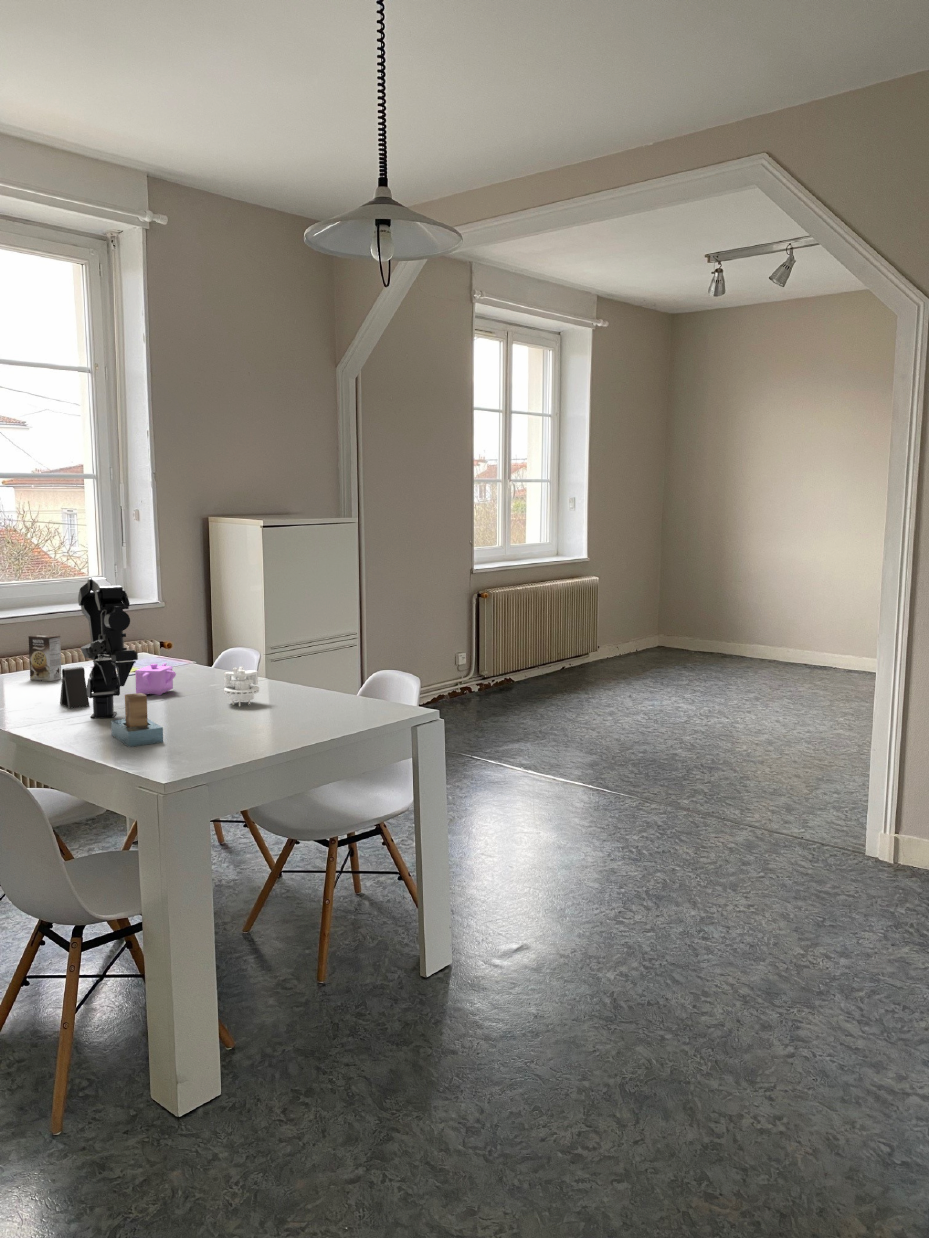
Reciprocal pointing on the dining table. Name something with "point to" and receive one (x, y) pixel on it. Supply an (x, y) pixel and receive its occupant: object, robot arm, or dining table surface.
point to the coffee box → (45, 657)
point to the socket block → (137, 733)
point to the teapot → (154, 679)
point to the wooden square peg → (136, 710)
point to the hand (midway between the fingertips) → (115, 685)
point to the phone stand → (73, 688)
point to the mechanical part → (241, 684)
